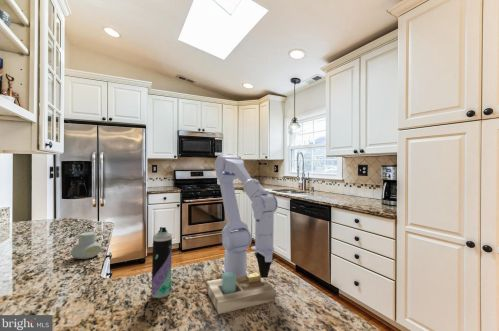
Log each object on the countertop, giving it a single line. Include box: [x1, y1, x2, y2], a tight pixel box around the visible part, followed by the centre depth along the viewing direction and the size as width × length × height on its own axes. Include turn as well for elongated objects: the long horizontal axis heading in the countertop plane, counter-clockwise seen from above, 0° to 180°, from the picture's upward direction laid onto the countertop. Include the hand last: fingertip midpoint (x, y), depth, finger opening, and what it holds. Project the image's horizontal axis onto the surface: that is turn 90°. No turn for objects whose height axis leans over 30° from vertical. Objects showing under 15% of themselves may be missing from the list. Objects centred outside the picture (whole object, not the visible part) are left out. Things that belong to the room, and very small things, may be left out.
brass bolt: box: [246, 272, 261, 285], centre depth 71 cm, size 2×4×2 cm, turn 114°
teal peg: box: [221, 272, 236, 295], centre depth 68 cm, size 4×4×7 cm
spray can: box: [151, 226, 173, 299], centre depth 71 cm, size 6×6×20 cm
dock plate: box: [206, 271, 276, 315], centre depth 70 cm, size 13×17×4 cm
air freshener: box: [70, 231, 103, 260], centre depth 100 cm, size 11×8×10 cm
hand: (263, 276), depth 73 cm, fingers closed
